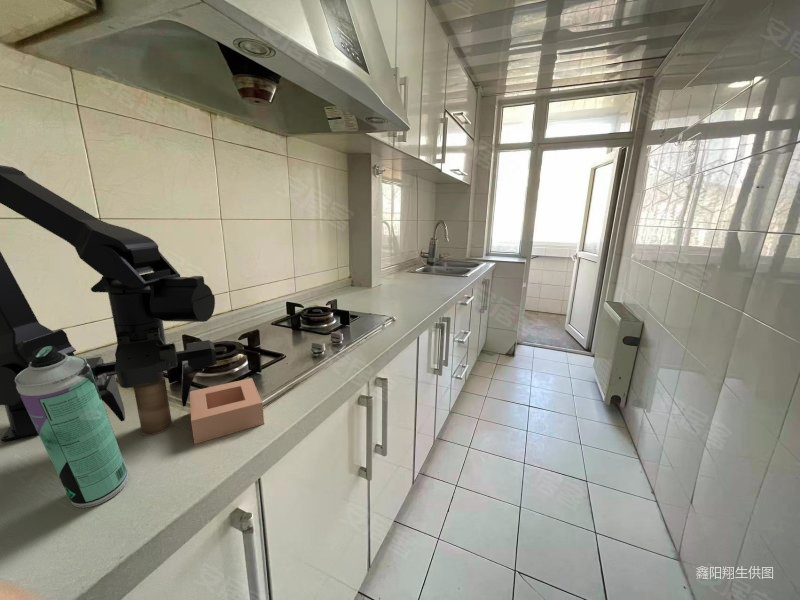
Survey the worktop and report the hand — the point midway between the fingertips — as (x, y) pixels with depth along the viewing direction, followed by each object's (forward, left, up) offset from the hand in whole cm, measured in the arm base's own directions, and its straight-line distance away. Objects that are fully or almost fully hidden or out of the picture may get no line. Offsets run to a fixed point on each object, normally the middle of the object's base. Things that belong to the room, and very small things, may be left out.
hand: (155, 412), depth 53 cm
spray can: (+12, -5, -2) cm, 13 cm away
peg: (0, 0, -3) cm, 3 cm away
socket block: (+3, +10, -3) cm, 11 cm away
